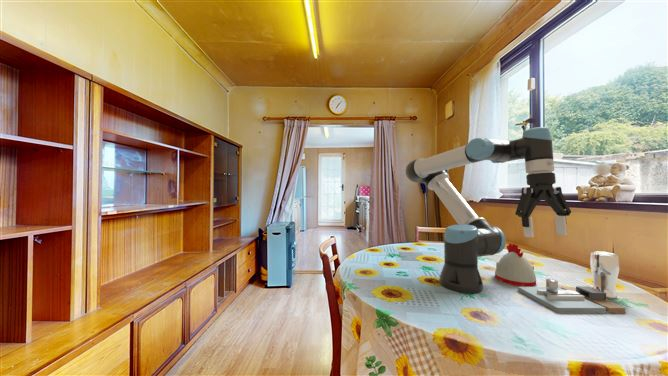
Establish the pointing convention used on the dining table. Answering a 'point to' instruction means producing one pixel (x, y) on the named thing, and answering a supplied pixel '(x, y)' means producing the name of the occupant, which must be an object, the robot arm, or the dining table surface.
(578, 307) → the door lock board
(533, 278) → the kitchen timer
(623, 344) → the dining table surface
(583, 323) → the dining table surface
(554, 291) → the steel bolt
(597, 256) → the beer glass
